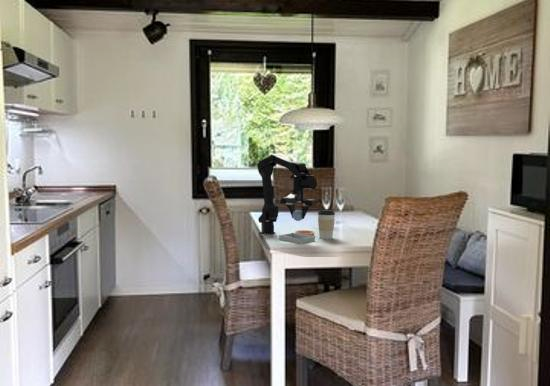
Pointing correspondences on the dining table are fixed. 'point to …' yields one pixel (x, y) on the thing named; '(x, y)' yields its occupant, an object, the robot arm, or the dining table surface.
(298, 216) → the ball
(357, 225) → the dining table surface
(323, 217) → the coffee cup
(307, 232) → the bowl
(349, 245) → the dining table surface
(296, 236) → the shallow serving tray
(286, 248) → the dining table surface
